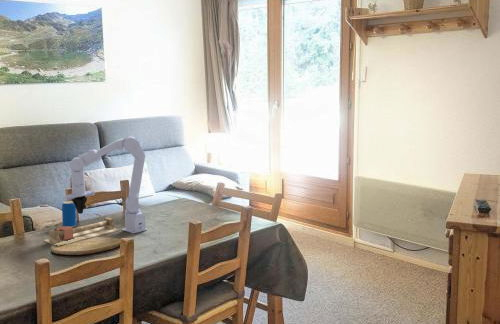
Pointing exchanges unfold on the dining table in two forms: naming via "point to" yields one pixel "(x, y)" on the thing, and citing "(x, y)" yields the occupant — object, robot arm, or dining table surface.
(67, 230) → the salmon red block
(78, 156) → the robot arm
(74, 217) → the beverage can
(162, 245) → the dining table surface
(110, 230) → the rod rig
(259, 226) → the dining table surface
